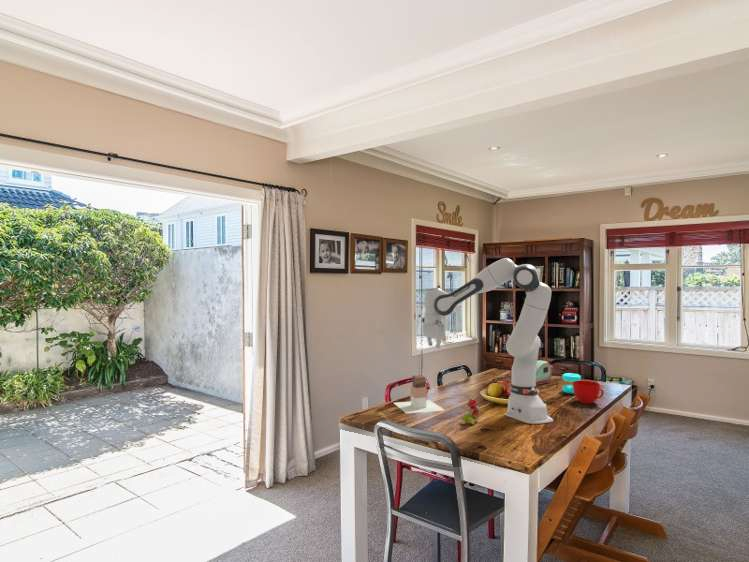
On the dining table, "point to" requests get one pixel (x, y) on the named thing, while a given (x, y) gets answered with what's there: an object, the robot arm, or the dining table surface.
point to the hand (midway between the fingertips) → (434, 346)
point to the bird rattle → (472, 412)
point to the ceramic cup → (587, 391)
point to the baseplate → (409, 409)
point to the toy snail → (543, 372)
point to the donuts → (570, 378)
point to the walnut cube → (418, 381)
